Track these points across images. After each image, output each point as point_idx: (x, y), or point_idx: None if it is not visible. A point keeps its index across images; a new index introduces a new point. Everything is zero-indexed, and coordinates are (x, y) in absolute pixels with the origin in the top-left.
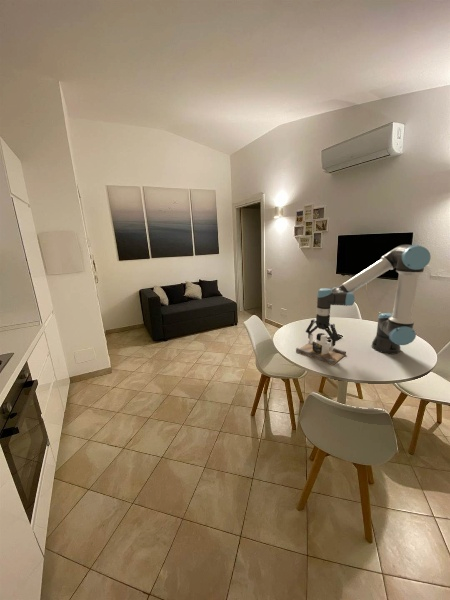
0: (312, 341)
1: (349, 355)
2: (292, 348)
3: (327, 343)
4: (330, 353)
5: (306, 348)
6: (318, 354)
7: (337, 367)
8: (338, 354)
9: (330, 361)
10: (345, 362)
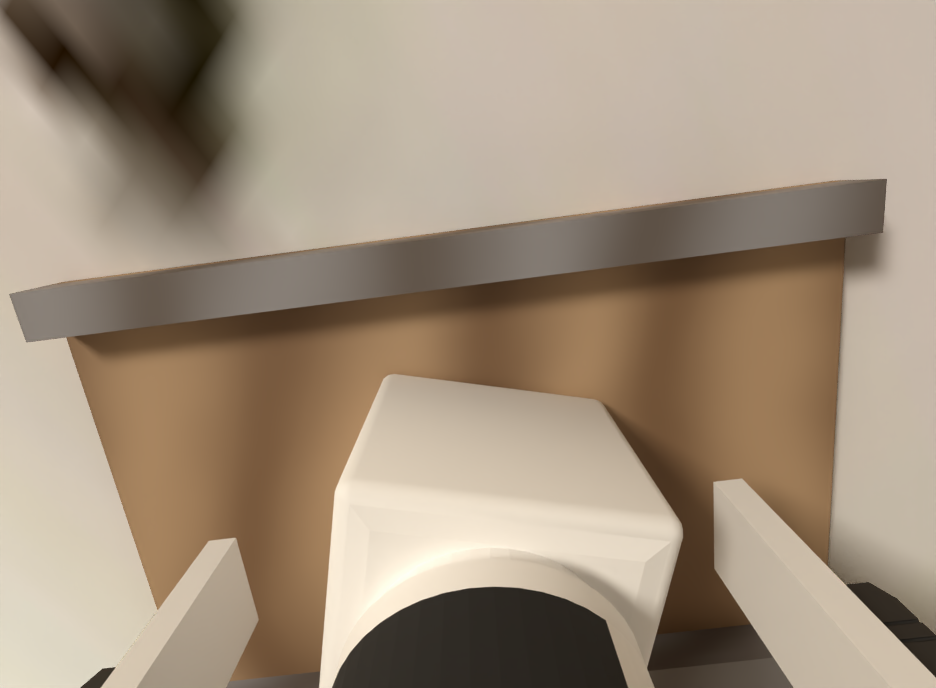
0: (86, 294)
1: (896, 147)
2: (86, 668)
3: (658, 619)
4: (623, 396)
5: None
6: None
7: None
8: (748, 320)
9: None
10: (925, 447)
